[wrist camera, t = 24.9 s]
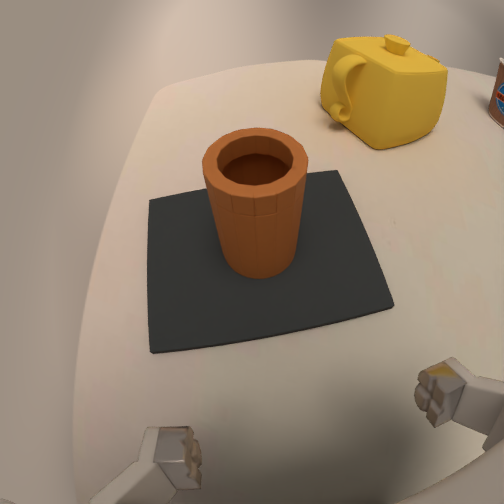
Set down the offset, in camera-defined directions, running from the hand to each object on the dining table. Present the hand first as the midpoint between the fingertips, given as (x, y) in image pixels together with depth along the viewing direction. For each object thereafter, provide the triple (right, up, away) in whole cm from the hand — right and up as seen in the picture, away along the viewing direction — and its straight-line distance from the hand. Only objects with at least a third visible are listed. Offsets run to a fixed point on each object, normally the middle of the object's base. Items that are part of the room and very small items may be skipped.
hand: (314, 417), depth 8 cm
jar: (-2, +6, +14) cm, 16 cm away
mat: (-2, +6, +15) cm, 16 cm away
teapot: (+15, +23, +25) cm, 37 cm away
